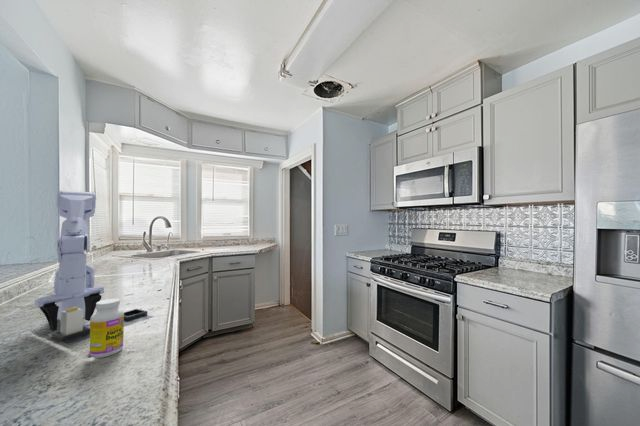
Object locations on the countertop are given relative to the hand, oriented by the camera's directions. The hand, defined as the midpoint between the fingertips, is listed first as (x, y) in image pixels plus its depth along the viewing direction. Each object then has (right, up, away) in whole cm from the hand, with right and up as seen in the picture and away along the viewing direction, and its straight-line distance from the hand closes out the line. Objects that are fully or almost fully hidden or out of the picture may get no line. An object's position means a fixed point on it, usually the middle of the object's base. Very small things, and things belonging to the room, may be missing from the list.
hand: (71, 324), depth 74 cm
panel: (+4, -4, +7) cm, 9 cm away
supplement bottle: (+17, -4, -8) cm, 19 cm away
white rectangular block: (0, -3, 0) cm, 3 cm away
